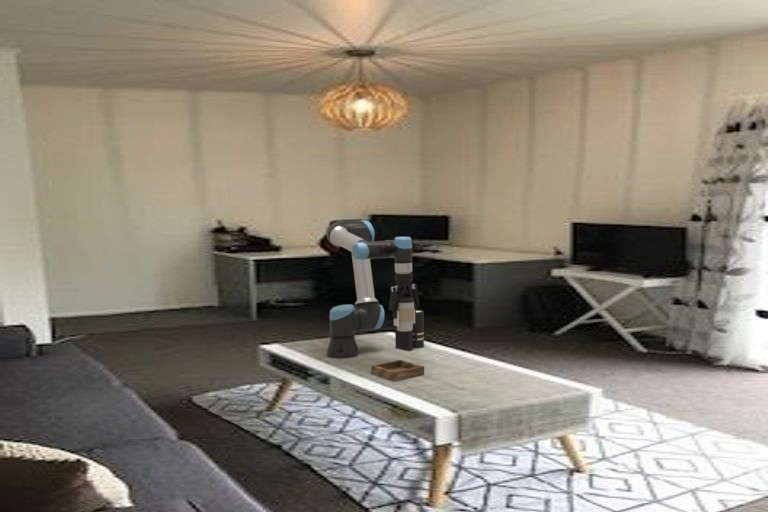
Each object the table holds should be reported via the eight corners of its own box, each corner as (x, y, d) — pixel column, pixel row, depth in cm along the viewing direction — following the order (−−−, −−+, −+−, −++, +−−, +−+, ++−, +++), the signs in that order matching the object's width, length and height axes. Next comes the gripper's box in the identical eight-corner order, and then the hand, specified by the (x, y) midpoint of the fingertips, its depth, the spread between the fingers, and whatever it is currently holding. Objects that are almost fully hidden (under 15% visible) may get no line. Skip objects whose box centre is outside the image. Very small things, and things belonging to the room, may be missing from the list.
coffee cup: (415, 327, 306) (414, 294, 305) (415, 331, 297) (414, 297, 296) (394, 327, 307) (394, 294, 305) (393, 331, 298) (393, 297, 296)
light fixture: (428, 346, 346) (428, 311, 345) (409, 351, 337) (409, 314, 335) (414, 343, 353) (413, 309, 352) (395, 348, 344) (394, 312, 342)
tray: (371, 373, 296) (371, 365, 296) (400, 367, 306) (400, 359, 306) (394, 381, 284) (394, 373, 283) (424, 374, 293) (424, 366, 293)
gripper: (390, 275, 290) (391, 328, 292) (427, 271, 304) (428, 322, 305) (379, 274, 296) (380, 326, 298) (415, 270, 309) (416, 320, 311)
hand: (404, 324), depth 302 cm, fingers closed on coffee cup, 8 cm apart
